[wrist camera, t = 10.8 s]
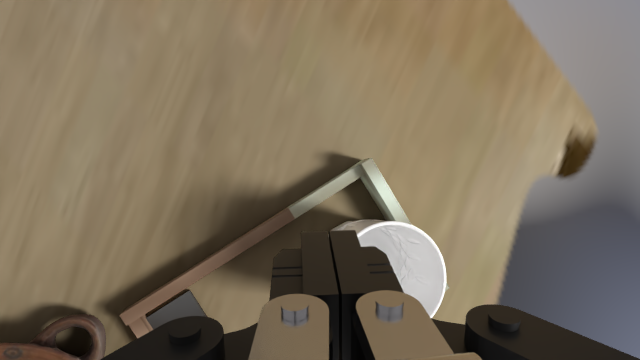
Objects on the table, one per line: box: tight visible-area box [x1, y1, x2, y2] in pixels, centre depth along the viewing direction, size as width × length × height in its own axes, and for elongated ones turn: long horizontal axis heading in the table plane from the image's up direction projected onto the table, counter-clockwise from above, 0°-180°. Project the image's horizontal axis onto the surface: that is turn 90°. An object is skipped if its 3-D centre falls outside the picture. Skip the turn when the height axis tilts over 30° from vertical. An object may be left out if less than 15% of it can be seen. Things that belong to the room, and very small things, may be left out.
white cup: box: [328, 220, 446, 318], centre depth 36 cm, size 8×8×10 cm
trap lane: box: [119, 158, 449, 338], centre depth 38 cm, size 13×24×3 cm, turn 122°
